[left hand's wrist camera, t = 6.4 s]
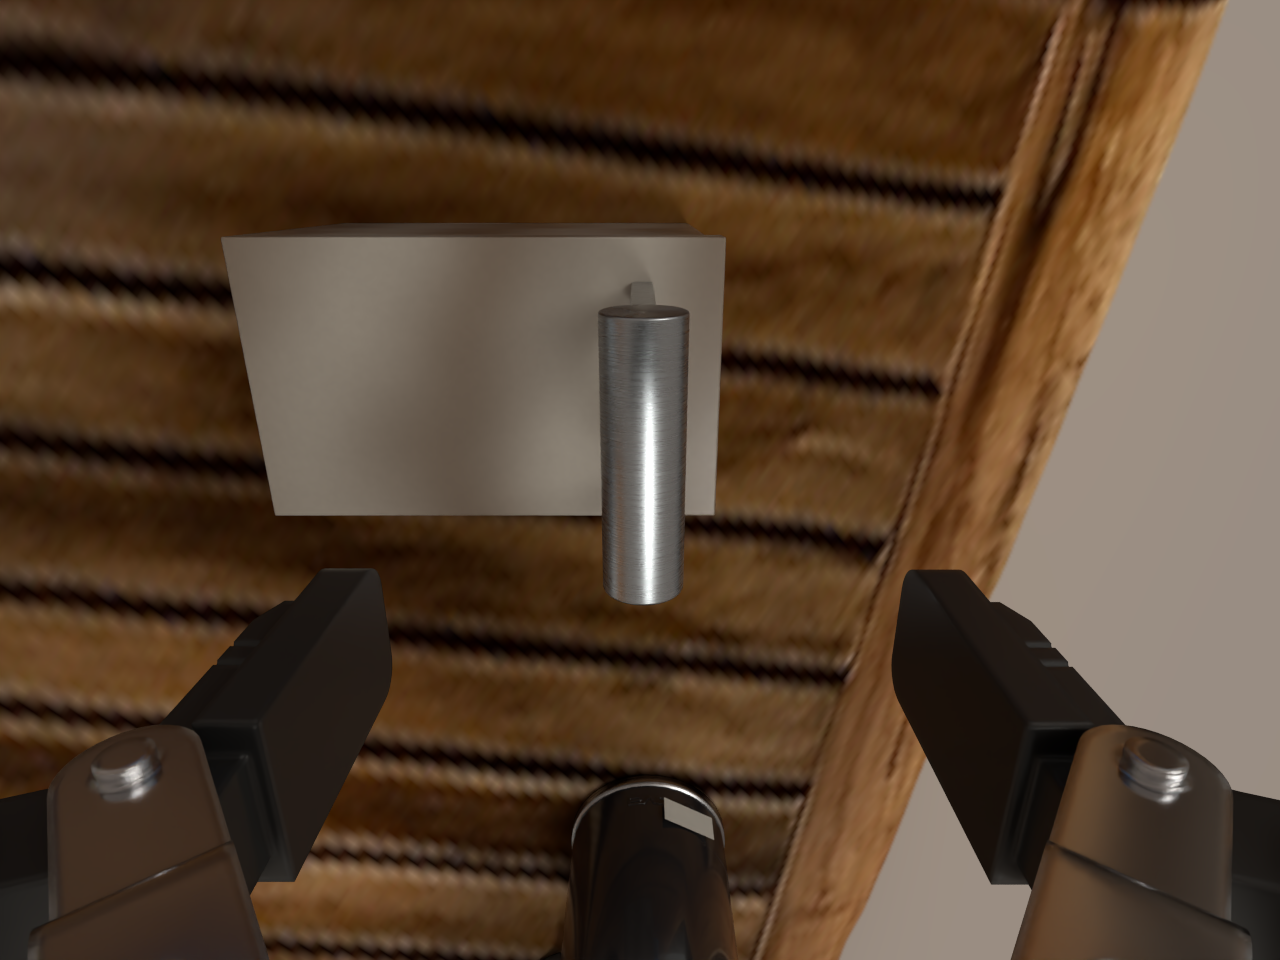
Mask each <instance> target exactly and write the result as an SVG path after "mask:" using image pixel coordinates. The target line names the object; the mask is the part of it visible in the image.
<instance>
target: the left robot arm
mask: <svg viewBox="0 0 1280 960" xmlns="http://www.w3.org/2000/svg"><path fill="white" fill-rule="evenodd" d="M391 676H392V654H391V647H390V640H389V633H388V626H387V619H386V612H385V605H384V598H383V591H382V585H381V580H380V577H379V574H378V573H377V571H376V570H375V569H322V570H320V571H319V572H318V573H317V575H316V576H315V577H314V578H313V579H312V581H311V582H310V583H309V584H308V585H307V587H306V588H305V589H304V590H303V591H302V592H301V594H300V595H299V596H298V597H297V598H296V600H295V601H284V602H282V603H280V604H279V605H277V606H276V607H274V608H272V609H271V610H269V611H267V612H266V613H264V614H262V615H261V616H259V617H257V618H256V619H254V620H253V621H252V622H251V623H250V624H249V626H248V627H247V628H246V629H245V630H244V631H243V632H242V633H241V634H240V636H239V637H238V638H237V639H236V640H235V641H234V646H230V647H229V648H228V649H227V650H226V651H225V652H224V653H223V655H222V656H221V657H220V658H219V659H218V660H217V665H213V666H212V667H211V668H210V669H209V670H208V671H207V672H206V673H205V675H204V676H203V677H202V678H201V679H200V680H199V681H198V682H197V683H196V685H195V686H194V687H193V688H192V689H191V690H190V691H189V692H188V693H187V695H186V696H185V697H184V698H183V699H182V700H181V701H180V702H179V703H178V705H177V706H176V707H175V708H174V709H173V710H172V711H171V712H170V713H169V715H168V716H167V717H166V718H165V719H164V720H163V721H162V722H161V723H160V725H154V726H146V727H142V728H137V729H133V730H130V731H127V732H123V733H121V734H118V735H115V736H113V737H110V738H108V739H106V740H104V741H102V742H100V743H98V744H96V745H94V746H92V747H91V748H89V749H87V750H85V751H84V752H83V753H81V754H80V755H78V756H77V757H75V758H74V759H73V760H72V761H70V762H69V763H68V764H67V765H66V766H65V767H64V768H63V769H62V770H61V771H60V772H59V773H58V774H57V775H56V777H55V778H54V780H53V781H52V783H51V785H50V787H49V789H45V790H40V791H36V792H31V793H26V794H22V795H17V796H13V797H8V798H3V799H0V960H269V957H268V954H267V951H266V947H265V944H264V941H263V937H262V934H261V931H260V928H259V924H258V921H257V918H256V914H255V911H254V908H253V905H252V901H251V898H250V894H251V892H252V891H253V889H254V887H255V885H256V883H257V882H295V880H296V878H297V876H298V874H299V872H300V870H301V868H302V866H303V864H304V862H305V860H306V858H307V856H308V854H309V852H310V850H311V848H312V846H313V844H314V842H315V840H316V838H317V836H318V834H319V832H320V830H321V828H322V826H323V824H324V822H325V820H326V818H327V816H328V814H329V812H330V810H331V808H332V806H333V804H334V802H335V800H336V798H337V796H338V794H339V792H340V790H341V788H342V786H343V784H344V782H345V780H346V778H347V776H348V774H349V772H350V770H351V768H352V766H353V764H354V762H355V760H356V758H357V756H358V754H359V752H360V750H361V748H362V746H363V744H364V742H365V740H366V738H367V736H368V734H369V732H370V730H371V728H372V726H373V724H374V722H375V720H376V717H377V715H378V713H379V711H380V709H381V707H382V705H383V703H384V701H385V699H386V697H387V694H388V691H389V688H390V683H391ZM892 679H893V685H894V690H895V693H896V696H897V699H898V701H899V703H900V705H901V707H902V709H903V711H904V713H905V715H906V717H907V719H908V721H909V723H910V725H911V727H912V729H913V731H914V733H915V735H916V737H917V739H918V741H919V743H920V745H921V747H922V749H923V751H924V753H925V755H926V757H927V759H928V761H929V763H930V764H931V766H932V768H933V770H934V772H935V774H936V776H937V778H938V780H939V782H940V784H941V786H942V788H943V790H944V792H945V794H946V796H947V798H948V800H949V802H950V804H951V806H952V808H953V810H954V812H955V814H956V816H957V818H958V820H959V822H960V824H961V826H962V828H963V830H964V832H965V834H966V836H967V838H968V840H969V841H970V843H971V846H972V848H973V849H974V851H975V853H976V855H977V857H978V859H979V861H980V863H981V865H982V867H983V869H984V871H985V873H986V875H987V877H988V879H989V881H990V883H991V884H1029V886H1030V888H1031V890H1032V891H1031V895H1030V898H1029V901H1028V905H1027V908H1026V911H1025V915H1024V918H1023V921H1022V924H1021V928H1020V931H1019V934H1018V937H1017V941H1016V944H1015V947H1014V951H1013V954H1012V957H1011V960H1280V800H1276V799H1271V798H1266V797H1262V796H1257V795H1253V794H1248V793H1243V792H1239V791H1235V790H1232V789H1231V787H1230V785H1229V783H1228V781H1227V780H1226V778H1225V777H1224V775H1223V774H1222V773H1221V772H1220V771H1219V770H1218V769H1217V768H1216V767H1215V766H1214V765H1213V764H1212V763H1211V762H1210V761H1208V760H1207V759H1206V758H1205V757H1203V756H1202V755H1200V754H1199V753H1197V752H1196V751H1195V750H1193V749H1191V748H1189V747H1188V746H1186V745H1184V744H1182V743H1180V742H1178V741H1176V740H1174V739H1172V738H1170V737H1167V736H1164V735H1162V734H1159V733H1156V732H1153V731H1150V730H1147V729H1143V728H1138V727H1134V726H1126V725H1125V724H1124V723H1123V722H1122V721H1121V720H1120V719H1119V718H1118V717H1117V715H1116V714H1115V713H1114V712H1113V711H1112V710H1111V709H1110V708H1109V707H1108V705H1107V704H1106V703H1105V702H1104V701H1103V700H1102V699H1101V698H1100V697H1099V696H1098V694H1097V693H1096V692H1095V691H1094V690H1093V689H1092V688H1091V687H1090V686H1089V685H1088V683H1087V682H1086V681H1085V680H1084V679H1083V678H1082V677H1081V676H1080V675H1079V673H1078V672H1077V671H1076V670H1075V669H1074V668H1073V667H1069V666H1068V661H1067V660H1066V659H1065V658H1064V657H1063V656H1062V655H1061V654H1060V653H1059V651H1058V650H1057V649H1056V648H1052V647H1051V643H1050V642H1049V640H1048V639H1047V638H1046V637H1045V636H1044V635H1043V634H1042V633H1041V632H1040V631H1039V629H1038V628H1037V627H1036V626H1035V625H1034V624H1033V623H1032V622H1031V621H1030V620H1028V619H1027V618H1025V617H1023V616H1022V615H1020V614H1018V613H1017V612H1015V611H1013V610H1012V609H1010V608H1009V607H1007V606H1005V605H1004V604H1002V603H1000V602H990V601H989V600H988V599H987V598H986V597H985V595H984V594H983V593H982V592H981V591H980V589H979V588H978V587H977V586H976V585H975V584H974V582H973V581H972V580H971V579H970V578H969V577H968V575H967V574H966V573H965V572H964V571H962V570H910V571H908V572H907V574H906V576H905V578H904V581H903V586H902V592H901V599H900V606H899V613H898V620H897V626H896V633H895V640H894V647H893V654H892ZM724 845H725V839H724V830H723V824H722V820H721V817H720V814H719V812H718V810H717V808H716V807H715V805H714V804H713V803H712V802H711V800H710V799H709V798H708V797H707V796H706V795H705V794H703V793H702V792H701V791H699V790H698V789H696V788H695V787H693V786H691V785H689V784H687V783H685V782H682V781H680V780H676V779H673V778H669V777H663V776H654V775H642V776H633V777H628V778H624V779H620V780H617V781H614V782H612V783H609V784H607V785H605V786H603V787H602V788H600V789H599V790H597V791H596V792H594V793H593V794H592V795H591V796H589V798H588V799H587V800H586V801H585V802H584V803H583V804H582V806H581V807H580V809H579V810H578V812H577V815H576V817H575V820H574V824H573V831H572V856H571V866H570V876H569V883H568V893H567V903H566V913H565V923H564V932H563V942H562V952H561V953H558V954H555V955H552V956H550V957H548V958H546V959H544V960H738V955H737V947H736V939H735V932H734V924H733V916H732V908H731V900H730V892H729V883H728V875H727V867H726V859H725V851H724Z"/></svg>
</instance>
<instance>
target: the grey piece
mask: <svg viewBox="0 0 1280 960" xmlns="http://www.w3.org/2000/svg"><path fill="white" fill-rule="evenodd" d="M221 241H222V247H223V252H224V257H225V262H226V267H227V272H228V277H229V282H230V287H231V292H232V298H233V303H234V308H235V313H236V318H237V323H238V328H239V333H240V338H241V343H242V348H243V354H244V359H245V364H246V369H247V374H248V379H249V384H250V389H251V394H252V399H253V405H254V410H255V415H256V420H257V425H258V430H259V435H260V440H261V445H262V450H263V456H264V461H265V466H266V471H267V476H268V481H269V486H270V491H271V496H272V501H273V507H274V512H275V515H602V546H603V586H604V589H605V591H606V593H607V594H608V595H609V596H611V597H612V598H614V599H616V600H618V601H620V602H623V603H627V604H633V605H654V604H660V603H663V602H666V601H669V600H671V599H673V598H675V597H676V596H677V595H678V594H679V593H680V592H681V590H682V588H683V566H684V525H685V515H714V514H715V497H716V472H717V447H718V422H719V398H720V373H721V348H722V323H723V298H724V274H725V249H726V238H725V237H724V236H722V235H236V236H227V237H221Z"/></svg>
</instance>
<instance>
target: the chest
mask: <svg viewBox="0 0 1280 960" xmlns="http://www.w3.org/2000/svg"><path fill="white" fill-rule="evenodd" d="M245 235H704V234H702V233H701V232H699V231H698V230H696V229H695V228H693V227H692V226H690V225H689V224H687V223H343V224H334V225H325V226H316V227H307V228H299V229H290V230H281V231H272V232H263V233H254V234H245Z"/></svg>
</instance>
